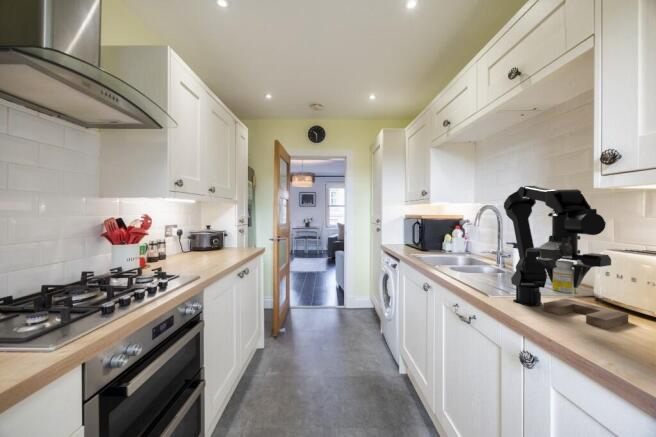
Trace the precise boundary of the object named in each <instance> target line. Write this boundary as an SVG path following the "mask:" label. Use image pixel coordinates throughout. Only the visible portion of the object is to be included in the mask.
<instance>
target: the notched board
mask: <svg viewBox="0 0 656 437" xmlns="http://www.w3.org/2000/svg"><path fill="white" fill-rule="evenodd" d="M542 305H543V307H542V309H543V310H542V311H544V312H547V313H550V314H553V315H554V314H555V315H558V316H561V315H566V314H568V313H569V314H570V313H572V312H574V313H579V314H582V315H585V323H586V324H587V325H590V326H591V325H592V326H594V327H598V328H601V329H604V330H607V329H611V328H613V327H614V328H615V327H618V326H620V325H623V324H626V323H629V313H627V312H622V311H618V310H614V309H611V308H606V307H603V306H597V305H594V304H591V303H590V304H589V303H586V302H581V301H578V300H573V299H569V298H561V299H557V300H552V301H547V302H542Z"/></svg>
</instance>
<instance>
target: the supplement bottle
mask: <svg viewBox="0 0 656 437" xmlns="http://www.w3.org/2000/svg"><path fill="white" fill-rule="evenodd" d="M573 264H575V263H574V262H573V261H572V260H564V259H559V260H557V261H556V266H557V267H555V268H554V269H553V283H552V293H553V294H555V295H559V296H562V297H563V296H564V297H575V296H577V288H574V268H573V266H572V265H573Z"/></svg>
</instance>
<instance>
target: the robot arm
mask: <svg viewBox="0 0 656 437" xmlns="http://www.w3.org/2000/svg"><path fill="white" fill-rule="evenodd" d="M536 201H539V202H543V203H545V207H548V208H550V209H551V210H552V211H550V212H549V213H548V215H547V216H548V217H550V218H552V219H551V221H552V223H551V226H552V227H551V228H552V230H551V234H550V235H549V237H548V241H547V242H545V243H542V244H541V245H540V246H538V247H536V246H534V245H535V244H534V240H533V235H532V230H531V224H530V219H529V218H530V216H531V215H532V213H533V208H534V206H535V205H536V203H537V202H536ZM503 209H504V211H505V214H506V216H507V217H508V218H509V219H510V220H511V222H512V225H513V229H514V234H515V235H514V236H515V240H516V246H517V251H518V258H519V259H518V260H517V263H516V264H515V265H516V266H515V272H514V273H513V275H512V276H511V278H510V281H511V284H512V285H513V286H514V287H515V299H513V300H512V301H513V302H515V303H519V304H521V305H525V306H529V307H535V306H539V305H543V302H542V293H541V291H540V288H545V286H546V282H547V278H548V277H549V280H550V282H551V284H553V269H554V268H555V267H557V266H556V261H557V260H566V261H575V262H576V264H575V263H574V264H573V265H572V266H573V267H572V269H574V288H576V289H577V288H579V286H580V285H581V283H582V282H583V279H584V278H585V276H586V275H587V274H588V273H589V271H590V270H591V269H592V268H595V267H597V268H601V267H609V266H612V258H611V256H609V254H603V253H594V252H590V253H583V254H581V250H580V249H579V248H578V244H579V241H578V240H581V235H585V236H586V235H589V236H597V235H599V234H601V233H602V232H604V230H605V228H606V224H607V223H606V221H605V219H604V217H603V216H602V215H601V214H599V213H597V208H592V207H591V205H590V204H589V203H588V201H587V199H586V198H585V196H584V195H583V194H582V191H581V190H580V189H577V188H575V189H574V188H573V189H550V188H545V187H539V186H536V185H523V186H520V187H519V188H518V189H517V190H516V191H515V192H513V193H510V195H508V196H507V198H506V199H505V201H504V202H503Z"/></svg>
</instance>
